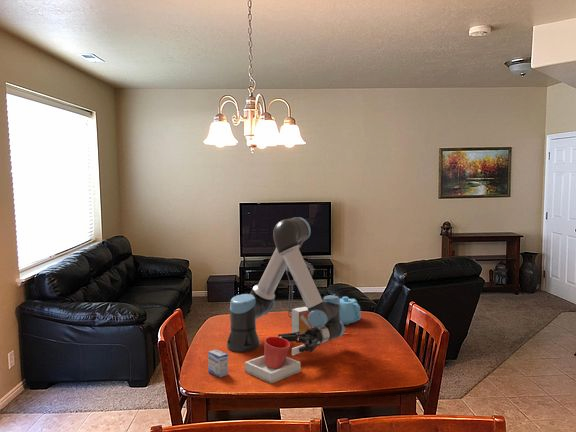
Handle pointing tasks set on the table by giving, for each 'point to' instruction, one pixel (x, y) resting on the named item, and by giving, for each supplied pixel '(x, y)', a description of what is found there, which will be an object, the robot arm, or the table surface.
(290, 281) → the geometric lantern
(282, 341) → the flower pot
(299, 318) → the small box
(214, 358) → the medicine box
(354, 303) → the decorative pot
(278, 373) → the white square tray
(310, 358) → the table surface
